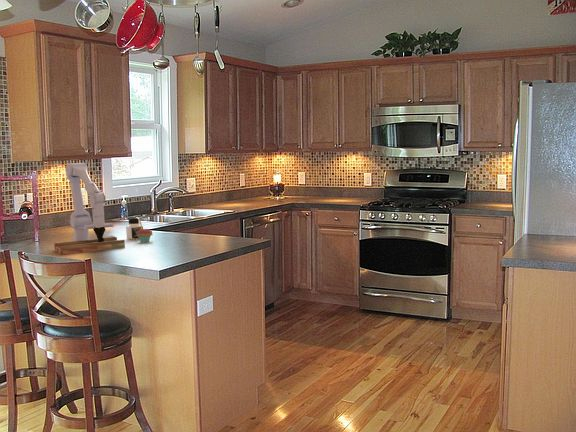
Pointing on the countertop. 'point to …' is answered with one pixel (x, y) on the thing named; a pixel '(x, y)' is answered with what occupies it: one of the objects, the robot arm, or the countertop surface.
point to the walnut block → (108, 238)
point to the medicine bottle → (133, 228)
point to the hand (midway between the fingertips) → (100, 241)
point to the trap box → (87, 246)
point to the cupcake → (144, 234)
